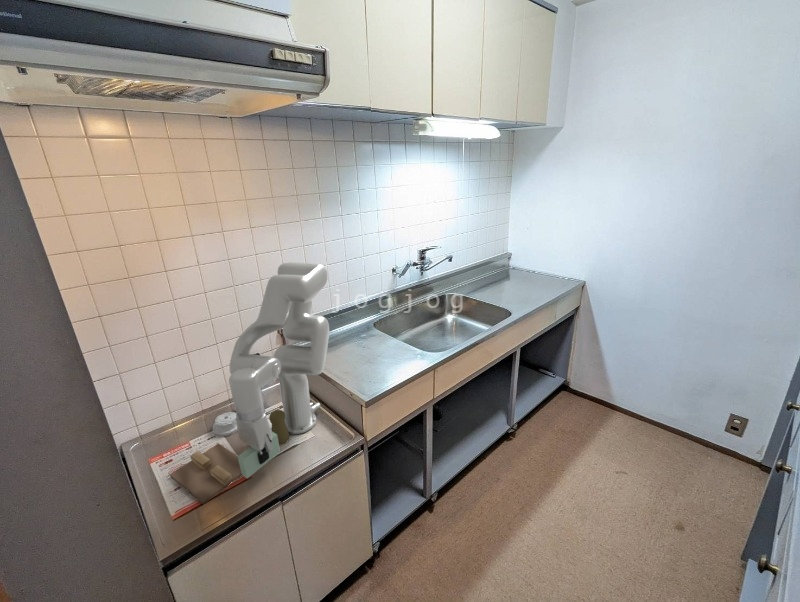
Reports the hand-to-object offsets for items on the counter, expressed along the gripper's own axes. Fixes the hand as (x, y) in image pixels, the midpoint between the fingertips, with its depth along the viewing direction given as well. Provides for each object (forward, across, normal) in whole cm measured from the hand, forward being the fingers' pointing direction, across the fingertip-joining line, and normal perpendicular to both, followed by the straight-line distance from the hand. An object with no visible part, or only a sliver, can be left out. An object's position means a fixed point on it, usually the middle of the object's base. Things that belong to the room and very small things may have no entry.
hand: (261, 458), depth 112 cm
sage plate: (+2, 0, 0) cm, 2 cm away
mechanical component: (+8, -30, +7) cm, 31 cm away
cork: (+8, -8, +13) cm, 17 cm away
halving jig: (+6, -14, -8) cm, 18 cm away
